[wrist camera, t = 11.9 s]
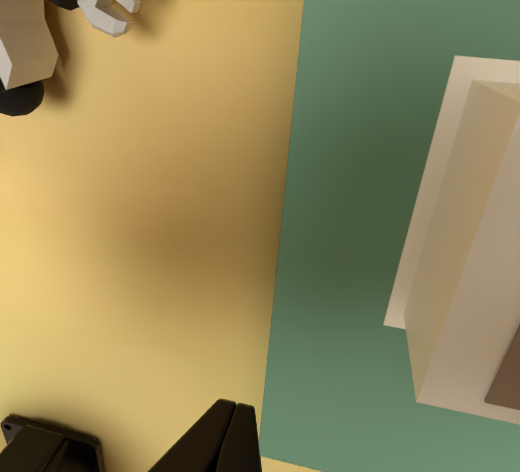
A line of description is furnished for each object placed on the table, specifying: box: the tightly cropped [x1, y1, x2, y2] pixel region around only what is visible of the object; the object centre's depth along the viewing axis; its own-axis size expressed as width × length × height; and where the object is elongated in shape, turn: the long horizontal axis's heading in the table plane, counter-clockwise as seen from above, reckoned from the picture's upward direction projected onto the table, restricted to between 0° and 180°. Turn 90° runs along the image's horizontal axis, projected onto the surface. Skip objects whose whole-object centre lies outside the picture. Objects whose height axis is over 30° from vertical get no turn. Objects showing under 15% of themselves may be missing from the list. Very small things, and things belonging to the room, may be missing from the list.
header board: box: [259, 0, 520, 472], centre depth 14 cm, size 20×14×4 cm
